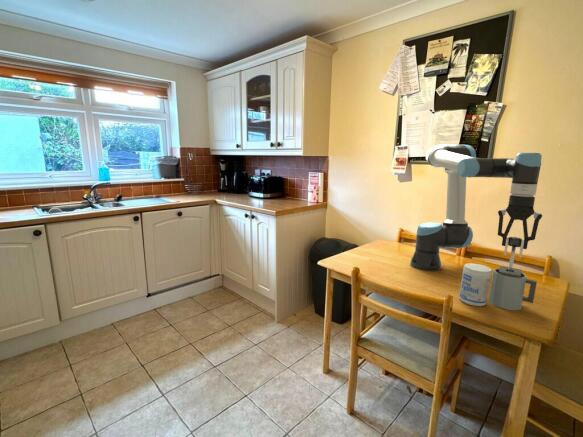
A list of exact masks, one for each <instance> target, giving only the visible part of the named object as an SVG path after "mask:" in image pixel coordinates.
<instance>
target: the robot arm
mask: <svg viewBox="0 0 583 437" xmlns="http://www.w3.org/2000/svg"><path fill="white" fill-rule="evenodd" d="M476 154H477V153H476V150H475V148H474V147H473V146H472V145H469V144H443V143H442V144H438V145H437V144H435V146H432V147H431V148H430V149H428V151H427V153H426V157H425V159H426V161H427V164H428V165H430V166H432V167H434V168H444V172H445V173H446V174H447V182H446V183H447V186H446V211H445V212H446V213H445V214H446V216H445V220H443V221H442V223H440V222H423V223H421V224H419V225H417V229H416V238H415V239H416V240H415V249H414V252H413V255H412V257H411V260H410V266H412V267H413V268H416V269H419V270H421V271H433V272H436V271H440V270H441V269H442V261H441V256H440V249H443V248H444V249H463V248H464V249H466V248H467V247H468V246H469V245H471V243H472V242H473V241H472V240H473V238H474V232H473V229H472V227H470V226H469V222H468V221H466V219H465V218H466V217H465V216H466V198H467V197H466V195H467V194H466V193H467V178H499V179H500V178H503V179H505V178H506V179H507V178H508V179H512V180H511V186H510V191H509V192H510V193H509V194H510V195H509V199H508V205H507V207H506V208H505V209H499V210H498V211H497V214H498V217H499V219H498V226H497V236H499V237H500V238H502V241H501V246H502V247H504V250H503V256H507V252H508V247H509V245H508V241H509V237H508V235H509V233H510V231H511V228H512V226H513V223H514V221H517V220H518V221H521V222H522V228H523V239H522V241H521V247H519V253H518V258H520V259H521V258H522V255H523V251H524V250H527V249H528V244H529V242H531V241H535V240H536V235H537V233H538V229H539V228H538V226H539V222H540V220H541V219H542V218H543V214H542V213H538V212H537V211H535V209H534V206H535V201H536V197H535V196H536V194H537V189H538V181H539V177H540V172H541V166H542V157H543V156H542V153H540V152H518V153H517V154H516V155H515V158H503V157H501V158H496V157H494V158H489V157H487V158H486V157H485V158H483V157H477V155H476ZM506 213H507V214H508V216H509V221H508V222H507V225H506V227H505V230H504V233H503V226H504V216H505V215H506ZM531 216H533V219H534V221H533V225H532V230H531V234H530V236H529V233H528V232H529V231H528V230H529V229H528V219H529V218H530V217H531Z"/></svg>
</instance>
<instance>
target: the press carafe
mask: <svg viewBox="0 0 583 437" xmlns="http://www.w3.org/2000/svg"><path fill="white" fill-rule="evenodd" d="M508 268H509V266H504V265H499V267H495V268H493V270H492V271H493V272H492V276H491V283H490V284H491V285H490V289H489V296H488V302H489V303H490V304H491V305H493V306H494V307H497V308H500V309H504V310H508V311H518V310H521V309H522V304H523V302H526V303H530V304H533V303H534V298H535V295H536V294H535V293H536V289H537V283H538V281H537V280H536V279H535V280H534V279H530V278H527V274H526V273H523V272H522V269H519V268H516V267H515V268H514V267H513V268H512V272H510V271H508ZM509 276H511V277H509ZM526 284H527V285H528V284H529V290H528V295H527V296H524V293H525V289H526V288H525V287H526Z"/></svg>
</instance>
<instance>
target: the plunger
mask: <svg viewBox="0 0 583 437" xmlns="http://www.w3.org/2000/svg"><path fill="white" fill-rule="evenodd" d="M508 238H509V241H508V247H511V251H510V258H509V264H508V267H509V268H508V271H510V272H512V268H514V260H515V255H516V249H517V248H520V247H521V241H522V240H523V239H522V238H521V237H517V236H508ZM509 277H511V276H509Z"/></svg>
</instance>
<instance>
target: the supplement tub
mask: <svg viewBox="0 0 583 437" xmlns="http://www.w3.org/2000/svg"><path fill="white" fill-rule="evenodd" d="M492 271H493V270H492V269H491V267H489V266H487V265H484V264H479V263H471V262H470V263H464V266H463V268H462V274H461V281H460V287H459V288H460V289H459V294H458V295H459V296H458V297H459V299H460V301H461V302H463V303H465V304H467V305H470V306H475V307H484V306H485V305H486V304H487V303H488V302H487V301H488V297H489V292H490V286H491V285H490V284H491V280H492Z"/></svg>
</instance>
